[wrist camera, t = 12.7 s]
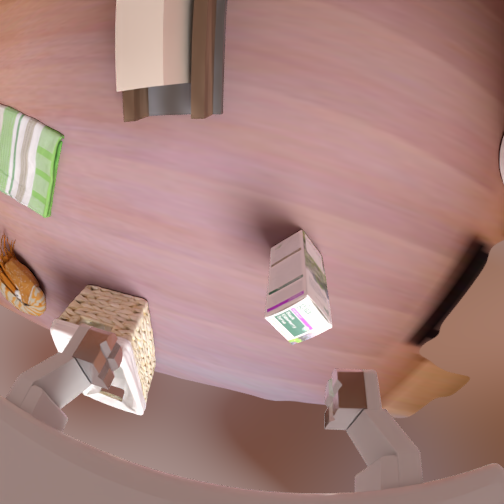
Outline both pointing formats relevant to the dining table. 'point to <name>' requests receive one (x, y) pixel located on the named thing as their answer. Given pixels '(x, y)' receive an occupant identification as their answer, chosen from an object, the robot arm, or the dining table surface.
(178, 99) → the slot rack
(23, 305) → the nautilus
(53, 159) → the dish towel
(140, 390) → the storage basket
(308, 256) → the syrup box
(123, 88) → the white rectangular block
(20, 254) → the dining table surface
